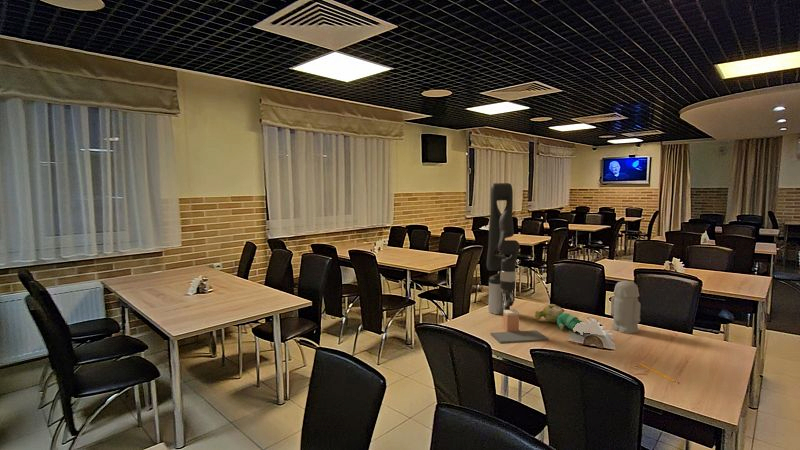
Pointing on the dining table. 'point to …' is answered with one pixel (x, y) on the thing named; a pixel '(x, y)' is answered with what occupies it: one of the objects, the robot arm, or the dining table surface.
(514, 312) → the block
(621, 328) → the grey stone figurine
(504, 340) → the mat
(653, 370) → the pencil
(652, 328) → the dining table surface
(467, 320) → the dining table surface
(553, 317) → the toy
